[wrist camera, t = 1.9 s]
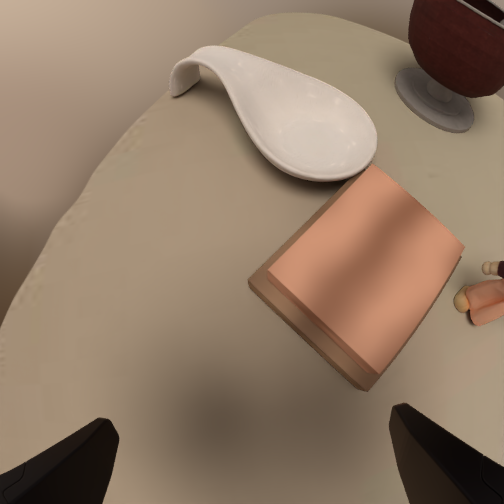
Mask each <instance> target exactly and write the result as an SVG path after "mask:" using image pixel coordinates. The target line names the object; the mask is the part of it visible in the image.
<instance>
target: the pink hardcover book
mask: <svg viewBox="0 0 504 504" xmlns="http://www.w3.org/2000/svg"><path fill="white" fill-rule="evenodd" d="M464 248H465V246H464V245H463V244H462V243H461V242H460V241H459V240H458V239H457V238H456V237H455V236H454V235H453V234H452V233H451V232H450V231H449V230H448V229H447V228H446V227H445V226H444V225H443V224H442V223H441V222H440V221H439V220H437V219H436V218H435V217H434V216H433V215H432V214H431V213H430V212H429V211H428V210H427V209H426V208H425V207H424V206H422V205H421V204H420V203H419V202H418V201H417V200H416V199H415V198H413V197H412V196H411V195H410V194H409V193H408V192H407V191H405V190H404V189H403V188H402V187H401V186H400V185H398V184H397V183H396V182H395V181H394V180H392V179H391V178H390V177H389V176H388V175H386V174H385V173H384V172H383V171H381V170H380V169H379V168H378V167H376V166H375V165H374V164H373V163H372V165H371V166H370V167H369V168H368V169H367V170H365V169H363V170H362V171H360V172H359V173H358V174H356V175H354V176H352V177H351V178H350V179H349V180H348V181H347V182H346V183H345V184H344V185H343V186H342V187H341V188H340V189H339V190H338V191H337V192H336V193H335V194H334V195H333V196H332V197H331V198H330V199H329V200H328V201H327V202H326V203H325V204H324V205H323V206H322V207H321V208H320V209H319V210H318V211H317V212H316V213H315V214H314V215H313V216H312V217H311V218H310V219H309V220H308V221H307V222H306V223H305V224H304V225H303V226H302V227H301V228H300V229H299V230H298V231H297V232H296V233H295V234H294V235H293V236H292V237H291V238H290V239H289V240H288V241H287V242H286V243H285V244H284V245H283V246H282V247H281V248H280V249H279V250H278V251H276V252H275V253H274V254H273V255H272V256H271V257H270V258H269V259H268V260H267V261H266V262H265V263H264V264H263V265H262V266H261V267H260V268H259V269H258V270H257V271H256V272H255V273H254V274H253V275H252V276H251V277H250V278H249V279H248V284H249V288H250V289H251V290H253V291H254V292H255V293H256V294H257V295H258V296H259V297H260V298H261V299H262V300H263V301H264V302H265V303H266V304H267V305H268V306H269V307H270V308H271V309H272V310H273V311H274V312H275V313H276V314H277V315H279V316H280V317H281V318H282V319H283V320H284V321H285V322H286V323H287V324H288V325H289V326H290V327H291V328H292V329H293V330H294V331H295V332H296V333H297V334H299V335H300V336H301V337H302V338H303V339H304V340H305V341H306V342H307V343H308V344H309V345H310V346H311V347H312V348H313V349H315V350H316V351H317V352H318V353H319V354H320V355H321V356H322V357H323V358H324V359H325V360H326V361H327V362H329V363H330V364H331V365H332V366H333V367H334V368H335V369H336V370H337V371H338V372H339V373H341V374H342V375H343V376H344V377H345V378H346V379H347V380H348V381H349V382H350V383H351V384H353V385H354V386H355V387H356V388H357V389H359V390H362V391H366V392H368V391H369V390H370V388H371V387H372V386H373V385H374V384H375V383H376V381H377V380H378V379H379V378H380V377H381V375H382V374H383V373H384V372H385V370H386V369H387V368H388V367H389V366H390V364H391V363H392V362H393V360H394V359H395V358H396V357H397V355H398V354H399V353H400V351H401V350H402V349H403V347H404V346H405V345H406V343H407V342H408V341H409V339H410V338H411V337H412V335H413V334H414V332H415V331H416V330H417V328H418V327H419V325H420V324H421V322H422V321H423V319H424V318H425V317H426V315H427V314H428V312H429V311H430V309H431V308H432V306H433V304H434V303H435V301H436V300H437V298H438V297H439V295H440V293H441V292H442V290H443V289H444V287H445V285H446V284H447V282H448V280H449V279H450V277H451V275H452V273H453V272H454V270H455V268H456V266H457V265H458V263H459V261H460V259H461V256H460V255H461V254H462V252H463V250H464Z"/></svg>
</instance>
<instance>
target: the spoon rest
mask: <svg viewBox="0 0 504 504" xmlns="http://www.w3.org/2000/svg"><path fill="white" fill-rule="evenodd" d="M199 65H202V66H205V67H207V68H209V69H210V70H211V71H213V72H214V73H215V74H216V75H217V76H218V78H219V79H220V80H221V82H222V83H223V85H224V87H225V88H226V90H227V92H228V95H229V97H230V99H231V101H232V104H233V106H234V108H235V110H236V112H237V114H238V116H239V118H240V120H241V122H242V124H243V126H244V128H245V130H246V131H247V133H248V135H249V136H250V138H251V139H252V141H253V143H254V144H255V145H256V147H257V148H258V149H259V151H260V152H261V153H262V154H263V155H264V156H265V158H266V159H267V160H269V161H270V162H271V163H272V164H273V165H274V166H276V167H277V168H278V169H280V170H282V171H283V172H285V173H287V174H289V175H292V176H294V177H297V178H300V179H304V180H309V181H317V182H331V181H339V180H343V179H347V178H350V177H352V176H354V175H356V174H358V173H359V172H360V171H362V170H363V169H364V168H365V167H366V166H367V165H368V164H369V163H370V162H371V160H372V159H373V157H374V155H375V152H376V149H377V132H376V129H375V126H374V124H373V122H372V120H371V118H370V117H369V115H368V114H367V113H366V111H365V110H364V109H363V108H362V107H361V106H360V105H359V104H358V103H357V102H356V101H354V100H353V99H352V98H351V97H349V96H348V95H347V94H345V93H343V92H342V91H340V90H338V89H337V88H335V87H333V86H331V85H329V84H327V83H325V82H322V81H320V80H318V79H316V78H313V77H311V76H308V75H305V74H303V73H301V72H298V71H296V70H293V69H290V68H288V67H285V66H283V65H280V64H277V63H274V62H271V61H269V60H266V59H263V58H260V57H257V56H255V55H252V54H249V53H245V52H242V51H239V50H236V49H232V48H228V47H223V46H206V47H202V48H199V49H198V50H196V51H195V52H194V53H193V54H192V55H191V56H189V57H188V58H185V59H183V60H181V61H179V62H178V63H177V64H176V65H175V67H174V68H173V70H172V73H171V75H170V81H169V87H170V94H171V96H178V95H180V94H182V93H184V92H185V91H186V90H188V89H189V88H190V87H191V86H192V85H194V84H195V83H197V82H198V81H199V79H200V71H199Z"/></svg>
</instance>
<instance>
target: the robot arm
mask: <svg viewBox="0 0 504 504" xmlns="http://www.w3.org/2000/svg"><path fill="white" fill-rule="evenodd" d="M389 430H390V435H391V439H392V443H393V448H394V453H395V457H396V462H397V466H398V470H399V473H400V476H401V479H402V482H403V485H404V488H405V491H406V494H407V497H408V500H409V503H410V504H504V467H503V466H501V465H500V464H498V463H496V462H494V461H493V460H491V459H490V458H488V457H486V456H483V454H482V453H480V452H479V451H477V450H475V449H474V448H472V447H471V446H469V445H468V444H466V443H465V442H463V441H462V440H460V439H459V438H457V437H456V436H454V435H453V434H451V433H450V432H448V431H447V430H445V429H444V428H442V427H441V426H439V425H438V424H436V423H435V422H433V421H432V420H430V419H429V418H428V417H426V416H425V415H423V414H422V413H420V412H419V411H417V410H416V409H414V408H413V407H412V406H410V405H409V404H407V403H401V404H397V405H394V406H393V407H392V411H391V416H390V421H389ZM118 444H119V435H118V433H117V431H116V429H115V427H114V426H113V424H112V422H111V421H110V420H109V419H106V418H97V419H95V420H94V421H92V422H91V423H89V424H87V425H86V426H84V427H83V428H81V429H79V430H78V431H76V432H75V433H73V434H71V435H70V436H68V437H67V438H65V439H63V440H62V441H60V442H58V443H57V444H55V445H53V446H52V447H50V448H48V449H47V450H45V451H43V452H42V453H40V454H38V455H37V456H35V457H33V458H31V459H30V460H28V461H27V462H24V463H23V464H21V465H19V466H17V467H15V468H14V469H12V470H10V471H8V472H6V473H3V474H1V475H0V504H102V503H103V500H104V497H105V494H106V491H107V488H108V485H109V482H110V479H111V475H112V471H113V467H114V462H115V457H116V453H117V448H118Z"/></svg>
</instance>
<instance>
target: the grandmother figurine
mask: <svg viewBox="0 0 504 504" xmlns="http://www.w3.org/2000/svg"><path fill="white" fill-rule="evenodd" d="M482 272H483V273H484V274H485V275H489V274H492V275H498V276H500V277H502V278H503V279H501V280H487V281H483V282H481V283H478V284H476V285H473V286H464V287H463V288H462V289H461V290H460V291H459V292H458V293H457V294H456V296H455V299H454V304H455V307H456V308H457V310H458V311H460V312H462V313H464V312H466V311H468V309H470V316H471V320H472V321H473V323H474V324H475V325H477V326H480V325H483V324H486V323H488V322H491V321H493V320H495V319H497V318H499V317H501V316H503V315H504V261H500V262H492V263H491V262H485V263H484V264H483V265H482Z"/></svg>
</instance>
